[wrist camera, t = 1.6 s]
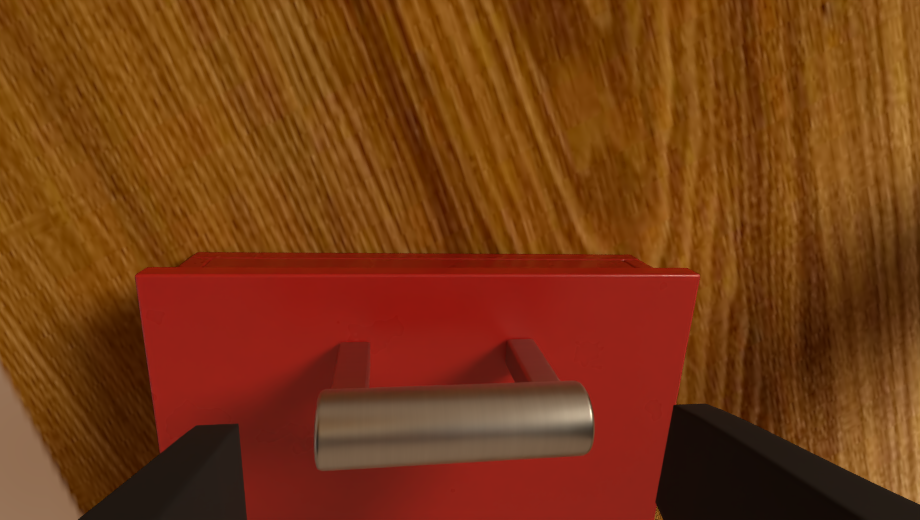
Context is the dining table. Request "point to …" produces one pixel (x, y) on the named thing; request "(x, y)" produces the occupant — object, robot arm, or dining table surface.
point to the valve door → (425, 385)
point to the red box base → (410, 260)
